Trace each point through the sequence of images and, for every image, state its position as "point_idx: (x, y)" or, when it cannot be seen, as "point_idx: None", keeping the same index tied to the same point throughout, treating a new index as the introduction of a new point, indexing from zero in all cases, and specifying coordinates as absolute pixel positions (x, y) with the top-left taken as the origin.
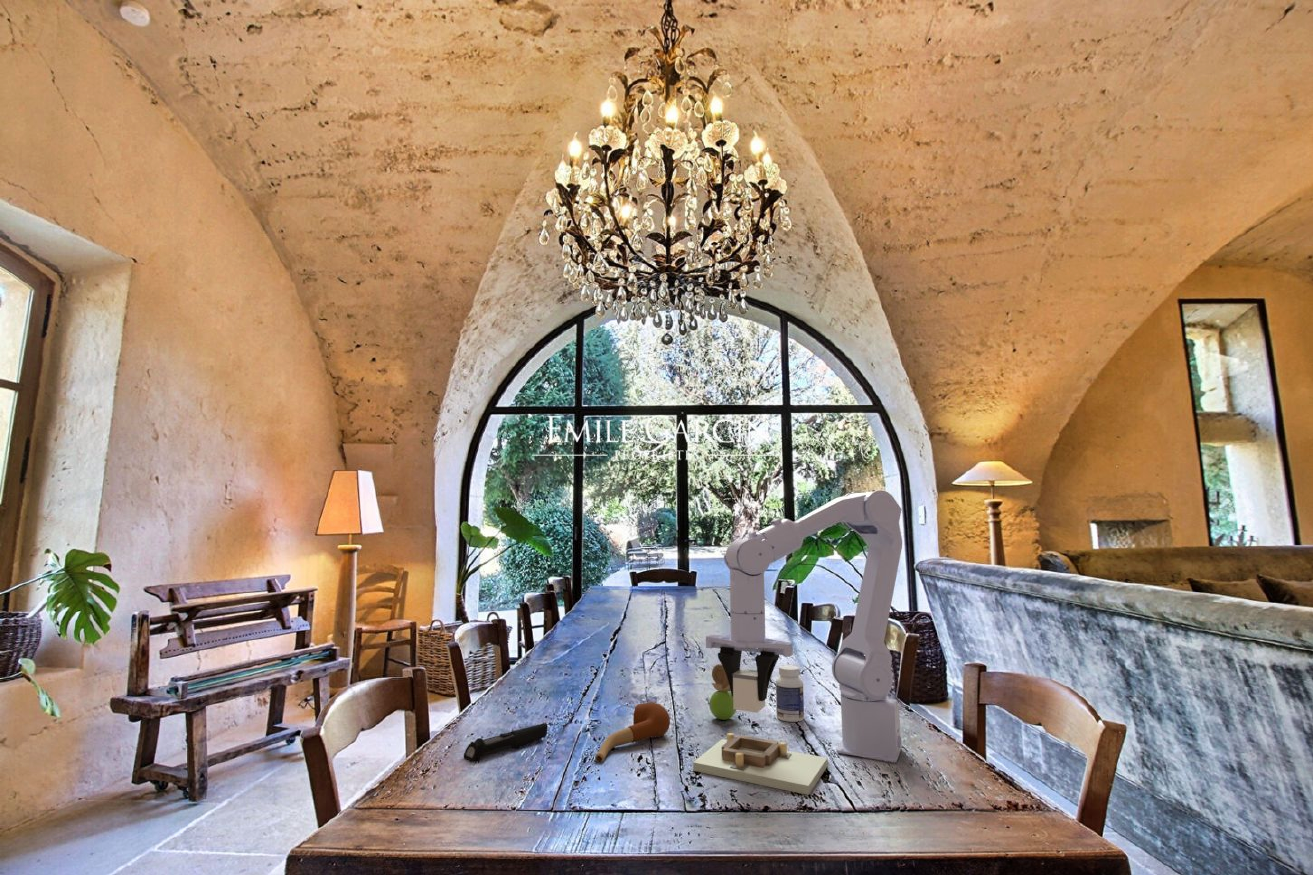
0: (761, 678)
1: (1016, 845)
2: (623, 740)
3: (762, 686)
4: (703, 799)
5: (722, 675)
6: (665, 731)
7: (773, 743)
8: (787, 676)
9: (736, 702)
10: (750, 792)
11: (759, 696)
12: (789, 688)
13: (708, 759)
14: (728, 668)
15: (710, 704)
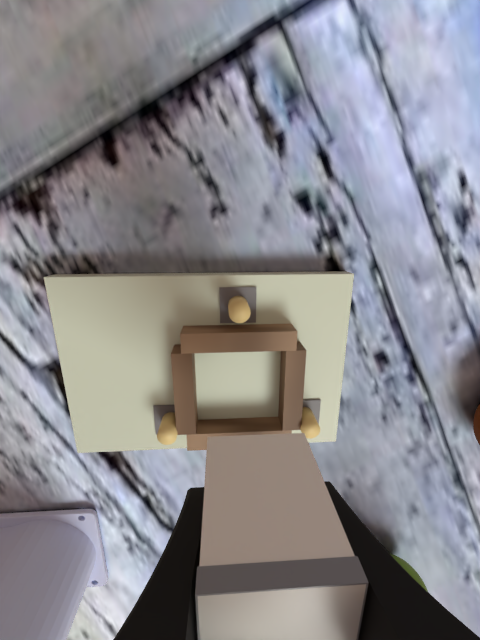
0: (165, 592)
1: None
2: None
3: (170, 544)
4: (264, 119)
5: None
6: (477, 414)
7: (194, 435)
8: None
9: (297, 452)
10: (178, 220)
11: (198, 499)
12: None
13: (324, 309)
14: (416, 620)
15: (420, 580)
